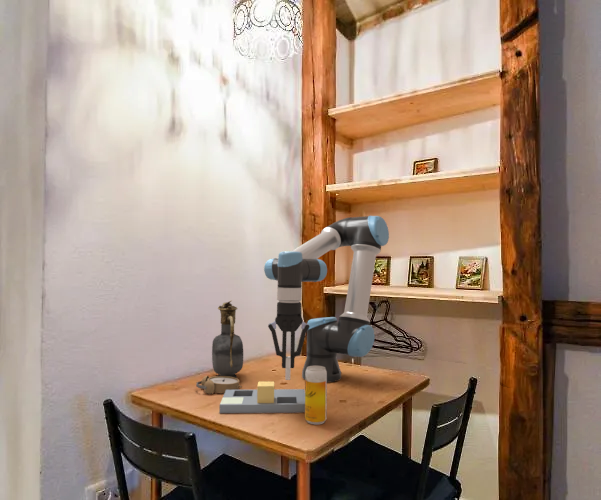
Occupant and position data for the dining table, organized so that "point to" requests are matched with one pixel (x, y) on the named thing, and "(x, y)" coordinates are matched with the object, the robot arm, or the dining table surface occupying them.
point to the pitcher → (227, 345)
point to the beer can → (315, 395)
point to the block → (265, 392)
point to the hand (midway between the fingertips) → (287, 378)
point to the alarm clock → (218, 384)
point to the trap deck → (248, 403)
